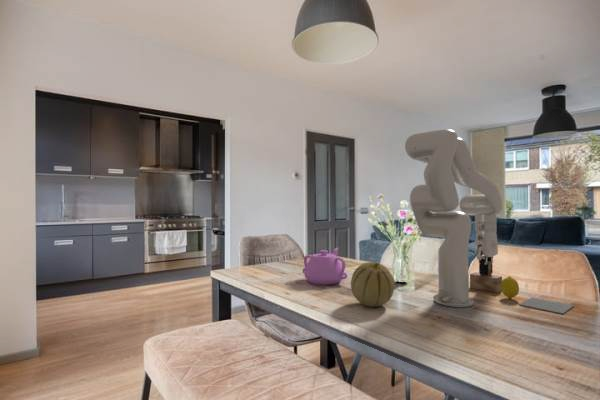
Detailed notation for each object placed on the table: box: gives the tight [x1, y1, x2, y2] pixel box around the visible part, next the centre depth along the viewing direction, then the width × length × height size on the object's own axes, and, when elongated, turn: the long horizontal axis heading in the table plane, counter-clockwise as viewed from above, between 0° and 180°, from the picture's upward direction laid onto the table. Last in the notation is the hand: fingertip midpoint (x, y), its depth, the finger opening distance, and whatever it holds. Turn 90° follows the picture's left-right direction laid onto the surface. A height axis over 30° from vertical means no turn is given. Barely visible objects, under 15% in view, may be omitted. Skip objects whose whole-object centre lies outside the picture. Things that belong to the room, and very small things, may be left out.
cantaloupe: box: [350, 261, 395, 308], centre depth 118 cm, size 15×15×15 cm
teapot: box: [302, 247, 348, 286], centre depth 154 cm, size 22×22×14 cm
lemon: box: [500, 275, 520, 299], centre depth 124 cm, size 6×6×8 cm
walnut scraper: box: [469, 261, 503, 293], centre depth 137 cm, size 10×5×11 cm, turn 39°
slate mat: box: [518, 297, 574, 315], centre depth 116 cm, size 12×12×1 cm
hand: (485, 273), depth 137 cm, fingers closed on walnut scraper, 3 cm apart
